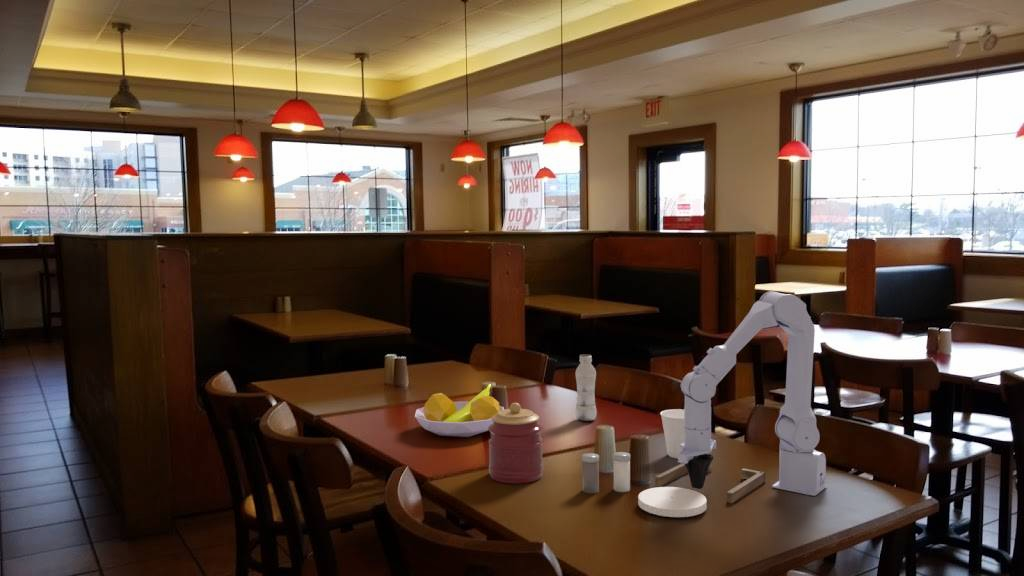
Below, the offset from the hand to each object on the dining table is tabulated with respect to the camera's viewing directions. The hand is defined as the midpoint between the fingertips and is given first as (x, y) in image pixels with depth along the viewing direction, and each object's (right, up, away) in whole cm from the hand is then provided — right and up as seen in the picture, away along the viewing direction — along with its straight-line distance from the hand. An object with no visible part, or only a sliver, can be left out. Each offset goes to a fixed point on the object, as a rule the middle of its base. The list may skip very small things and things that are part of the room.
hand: (697, 487), depth 173 cm
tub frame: (+4, -1, +5) cm, 6 cm away
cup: (+2, +1, +27) cm, 27 cm away
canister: (-40, -1, +13) cm, 42 cm away
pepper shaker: (-23, -1, +2) cm, 24 cm away
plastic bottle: (-19, +4, +65) cm, 68 cm away
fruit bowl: (-55, +2, +56) cm, 78 cm away
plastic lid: (-8, -2, -10) cm, 12 cm away
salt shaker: (-16, -1, +2) cm, 17 cm away
